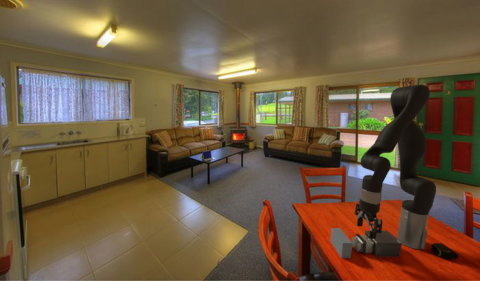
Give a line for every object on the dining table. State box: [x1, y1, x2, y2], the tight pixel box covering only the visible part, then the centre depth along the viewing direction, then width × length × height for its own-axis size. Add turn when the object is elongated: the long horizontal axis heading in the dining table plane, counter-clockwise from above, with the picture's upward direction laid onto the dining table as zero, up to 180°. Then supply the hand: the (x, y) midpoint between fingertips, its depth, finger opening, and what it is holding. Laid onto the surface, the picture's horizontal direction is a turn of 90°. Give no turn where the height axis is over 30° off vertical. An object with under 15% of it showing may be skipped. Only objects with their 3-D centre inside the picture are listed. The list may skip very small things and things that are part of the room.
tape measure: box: [431, 242, 459, 261], centre depth 79 cm, size 7×7×4 cm
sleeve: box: [364, 230, 403, 258], centre depth 82 cm, size 10×8×7 cm
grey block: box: [330, 227, 353, 259], centre depth 82 cm, size 4×10×7 cm, turn 178°
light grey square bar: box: [351, 233, 375, 255], centre depth 82 cm, size 17×6×6 cm, turn 89°
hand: (365, 231), depth 81 cm, fingers open, 8 cm apart
